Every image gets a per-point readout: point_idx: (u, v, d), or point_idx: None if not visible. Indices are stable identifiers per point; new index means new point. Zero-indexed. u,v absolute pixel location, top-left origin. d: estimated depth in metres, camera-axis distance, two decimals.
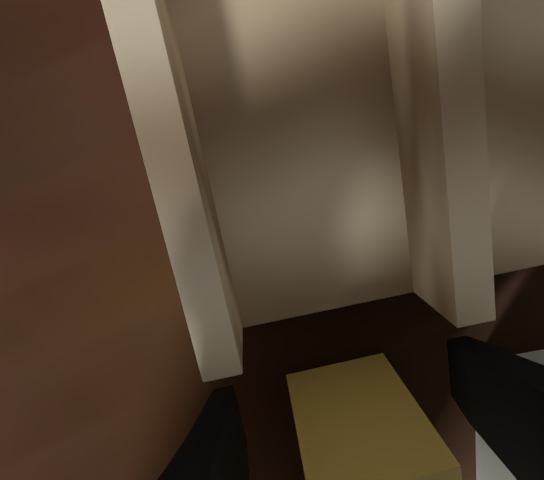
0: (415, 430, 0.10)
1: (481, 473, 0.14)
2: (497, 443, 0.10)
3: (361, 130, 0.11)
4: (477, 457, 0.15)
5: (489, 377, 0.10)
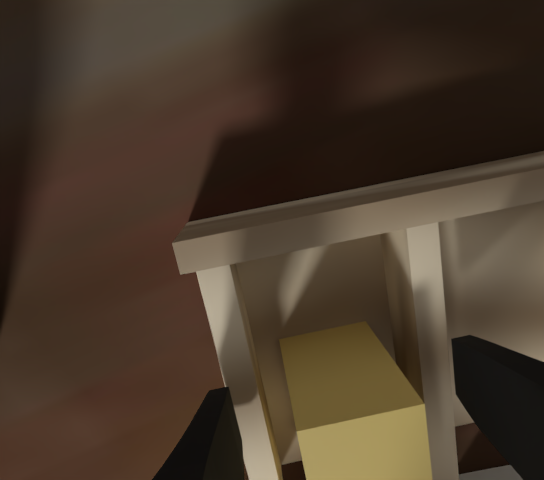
0: (389, 379, 0.11)
1: None
2: (502, 442, 0.10)
3: None
4: None
5: (494, 376, 0.10)
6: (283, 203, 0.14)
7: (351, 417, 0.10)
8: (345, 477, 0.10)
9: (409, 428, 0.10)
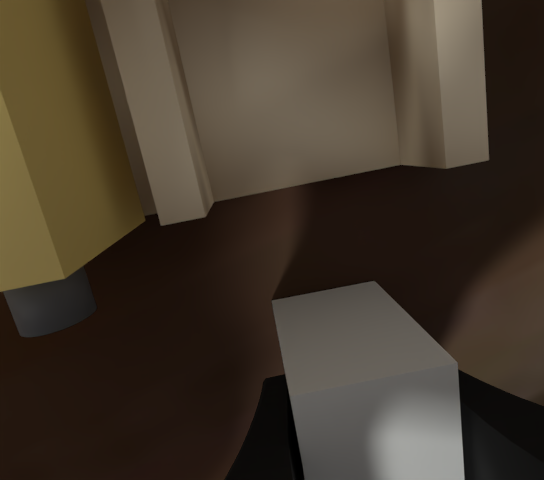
0: None
1: None
2: None
3: (89, 15, 0.09)
4: None
5: None
6: None
7: None
8: None
9: None
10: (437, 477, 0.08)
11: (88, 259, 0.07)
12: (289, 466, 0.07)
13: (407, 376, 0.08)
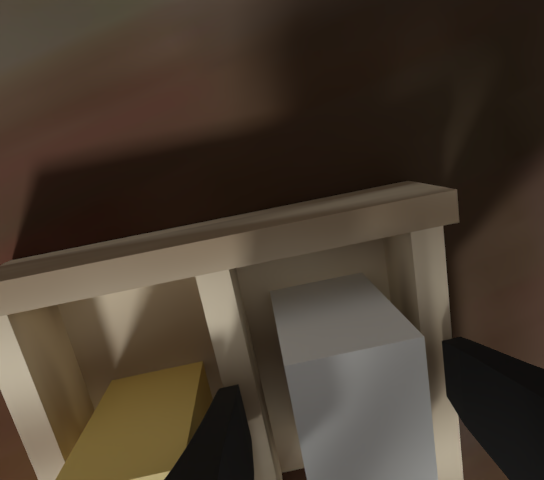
0: (172, 435, 0.11)
1: None
2: (491, 444, 0.10)
3: (207, 376, 0.15)
4: None
5: (483, 378, 0.10)
6: (109, 241, 0.14)
7: None
8: None
9: None
10: (410, 435, 0.10)
11: None
12: None
13: (382, 348, 0.09)
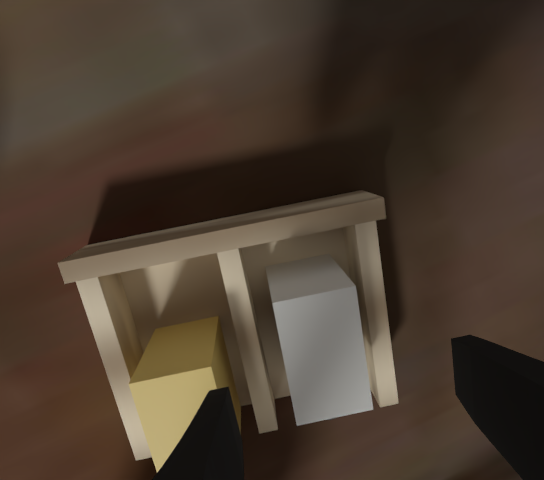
0: (202, 353, 0.17)
1: None
2: (502, 442, 0.10)
3: (221, 326, 0.21)
4: None
5: (494, 376, 0.10)
6: (155, 231, 0.20)
7: (164, 375, 0.16)
8: (164, 414, 0.16)
9: (203, 382, 0.16)
10: (350, 348, 0.16)
11: None
12: None
13: (331, 292, 0.15)
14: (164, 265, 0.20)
